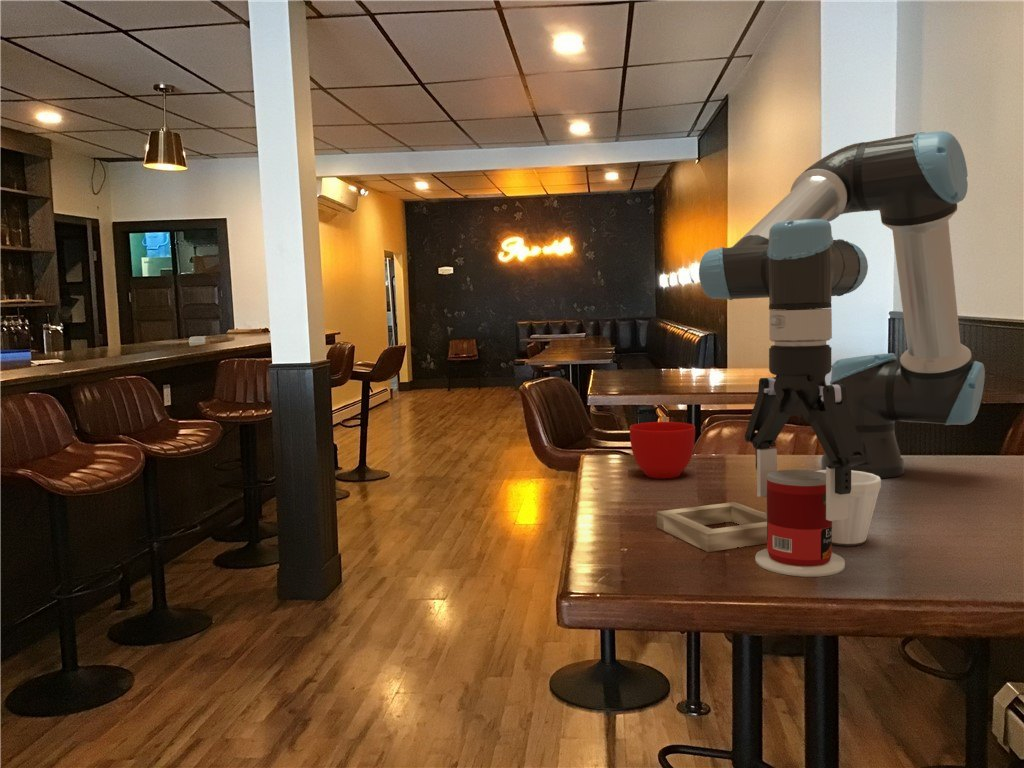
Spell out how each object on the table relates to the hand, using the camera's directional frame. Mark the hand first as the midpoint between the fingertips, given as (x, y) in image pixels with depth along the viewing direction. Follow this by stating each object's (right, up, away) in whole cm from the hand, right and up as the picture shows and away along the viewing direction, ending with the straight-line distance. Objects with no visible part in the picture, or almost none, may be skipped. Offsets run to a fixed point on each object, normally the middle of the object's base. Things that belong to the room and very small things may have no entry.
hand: (800, 507), depth 105 cm
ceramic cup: (-6, -3, +60) cm, 60 cm away
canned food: (0, -7, 0) cm, 7 cm away
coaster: (0, -7, 0) cm, 7 cm away
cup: (+10, -7, +10) cm, 15 cm away
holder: (-6, -6, +15) cm, 18 cm away
